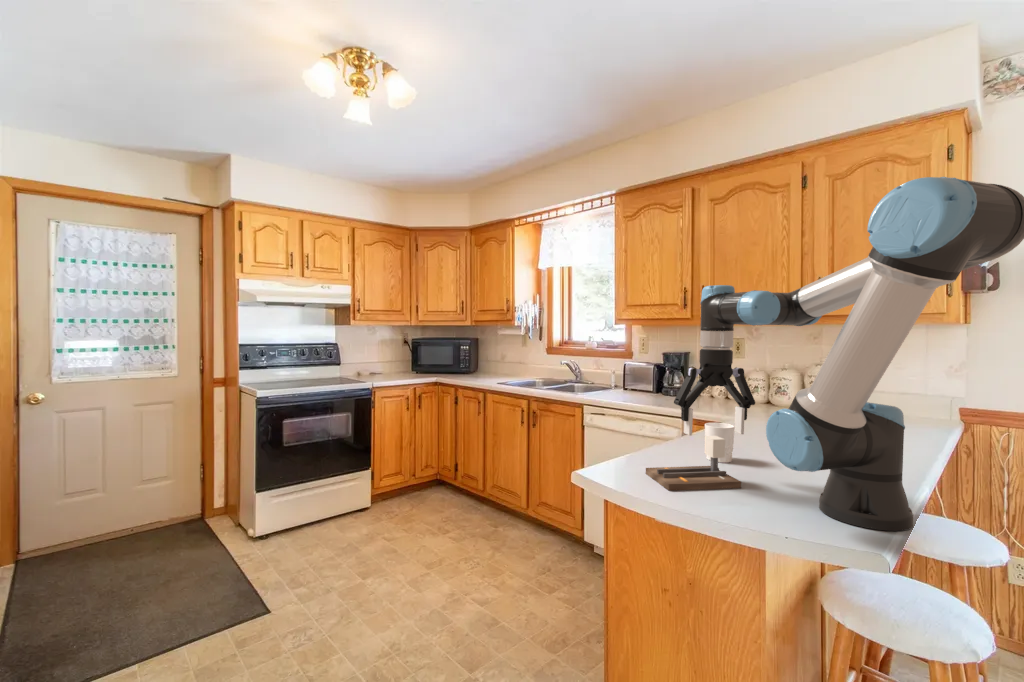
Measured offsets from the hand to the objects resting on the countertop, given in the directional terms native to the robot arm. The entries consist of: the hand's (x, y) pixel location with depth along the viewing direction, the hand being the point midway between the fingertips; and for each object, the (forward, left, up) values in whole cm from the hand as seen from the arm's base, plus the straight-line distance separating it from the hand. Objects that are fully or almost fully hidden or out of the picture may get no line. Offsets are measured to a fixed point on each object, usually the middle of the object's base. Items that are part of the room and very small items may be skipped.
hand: (713, 433), depth 118 cm
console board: (0, +6, -11) cm, 13 cm away
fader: (0, 0, -9) cm, 9 cm away
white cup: (+17, -12, -12) cm, 23 cm away
